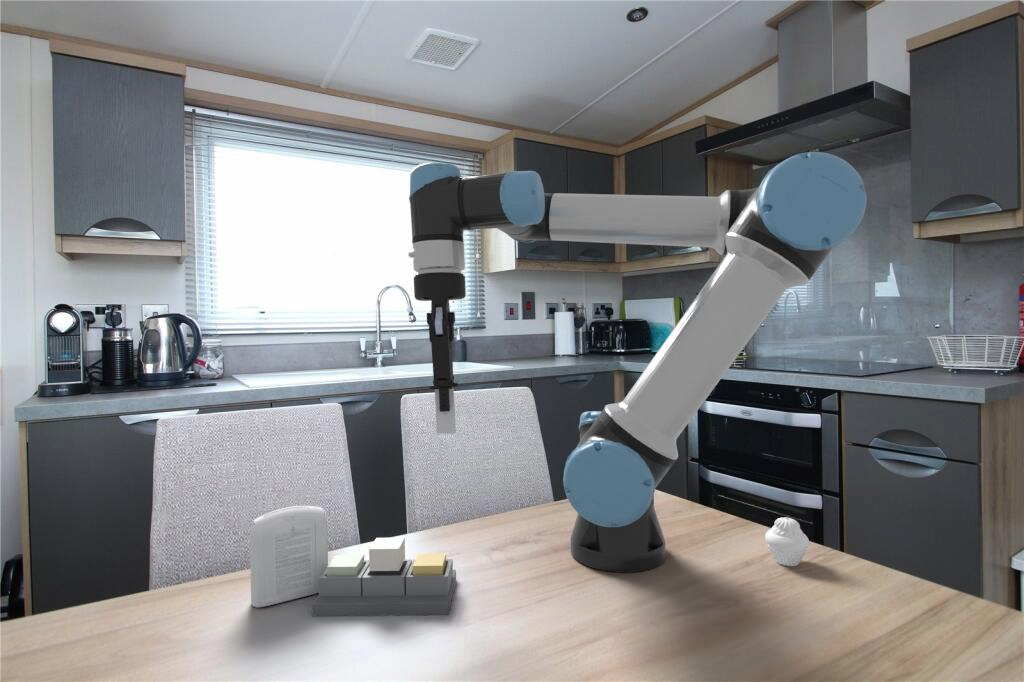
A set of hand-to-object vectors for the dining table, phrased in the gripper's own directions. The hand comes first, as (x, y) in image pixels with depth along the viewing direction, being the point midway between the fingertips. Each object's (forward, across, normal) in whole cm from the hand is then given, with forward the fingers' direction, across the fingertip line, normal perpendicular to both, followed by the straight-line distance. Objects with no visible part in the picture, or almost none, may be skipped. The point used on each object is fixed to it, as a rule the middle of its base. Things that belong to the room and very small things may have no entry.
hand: (446, 432), depth 85 cm
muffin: (+23, 0, +51) cm, 56 cm away
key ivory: (+17, +6, -8) cm, 20 cm away
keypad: (+21, +6, -8) cm, 24 cm away
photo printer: (+21, +4, -22) cm, 31 cm away
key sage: (+19, +6, -14) cm, 24 cm away
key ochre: (+19, +6, -3) cm, 20 cm away
